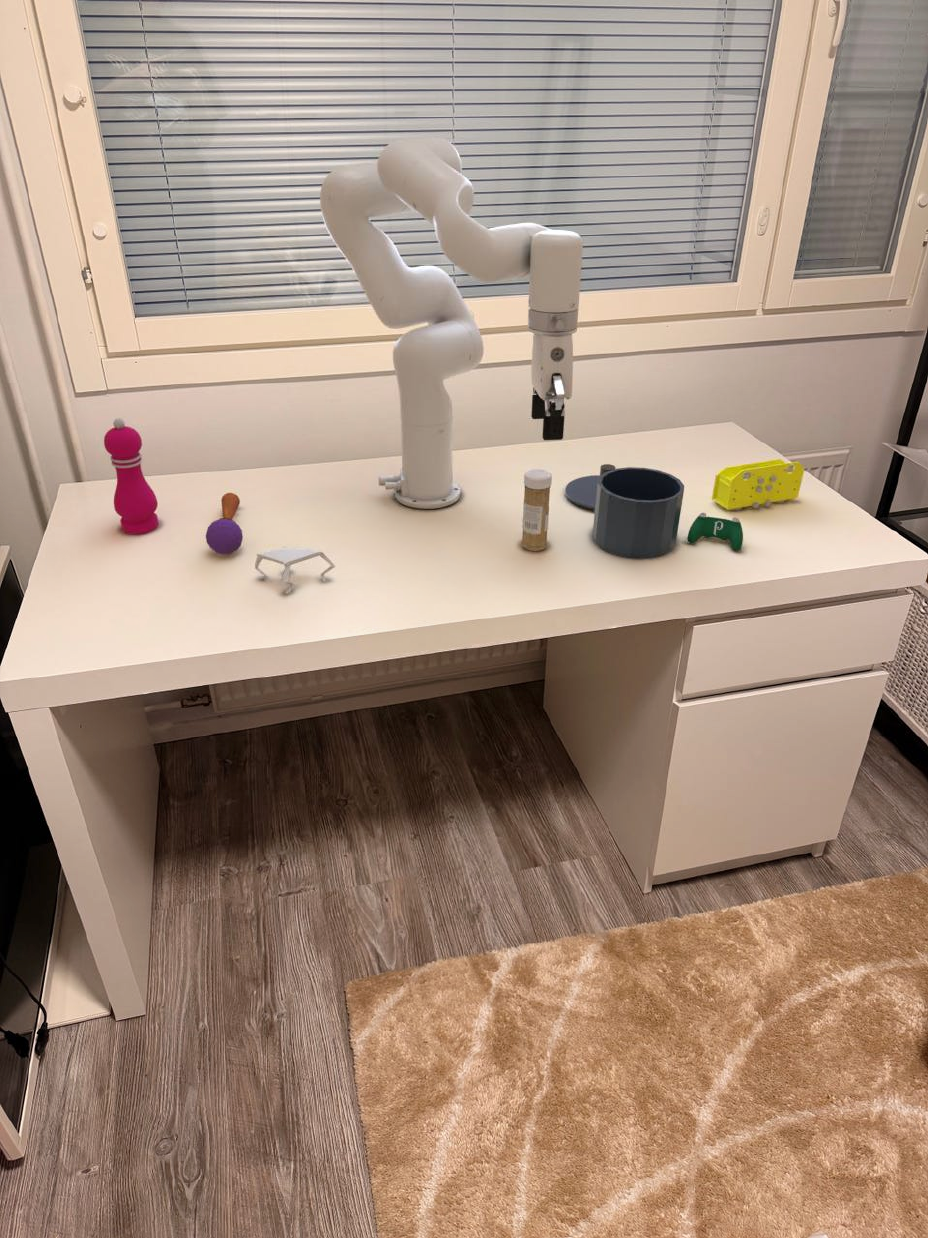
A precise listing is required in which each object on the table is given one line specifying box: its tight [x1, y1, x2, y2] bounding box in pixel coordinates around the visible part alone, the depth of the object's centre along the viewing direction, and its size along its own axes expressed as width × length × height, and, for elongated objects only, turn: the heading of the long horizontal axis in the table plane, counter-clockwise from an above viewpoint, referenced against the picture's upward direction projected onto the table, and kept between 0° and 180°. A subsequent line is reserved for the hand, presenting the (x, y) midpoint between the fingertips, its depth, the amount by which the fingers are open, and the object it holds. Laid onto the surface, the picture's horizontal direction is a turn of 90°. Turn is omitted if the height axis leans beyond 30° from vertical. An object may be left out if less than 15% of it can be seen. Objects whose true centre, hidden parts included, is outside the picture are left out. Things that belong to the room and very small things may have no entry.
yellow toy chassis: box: [711, 458, 805, 511], centre depth 166 cm, size 16×6×8 cm, turn 110°
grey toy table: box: [254, 546, 336, 595], centre depth 140 cm, size 12×8×5 cm
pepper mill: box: [103, 417, 160, 535], centre depth 152 cm, size 7×7×20 cm
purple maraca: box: [205, 492, 244, 555], centre depth 154 cm, size 6×6×20 cm
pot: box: [592, 466, 685, 559], centre depth 152 cm, size 14×15×10 cm
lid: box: [564, 463, 616, 510], centre depth 168 cm, size 15×15×6 cm
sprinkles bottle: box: [521, 468, 553, 552], centre depth 149 cm, size 5×5×13 cm
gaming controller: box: [686, 512, 744, 552], centre depth 154 cm, size 9×4×6 cm
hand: (546, 428), depth 142 cm, fingers open, 9 cm apart
